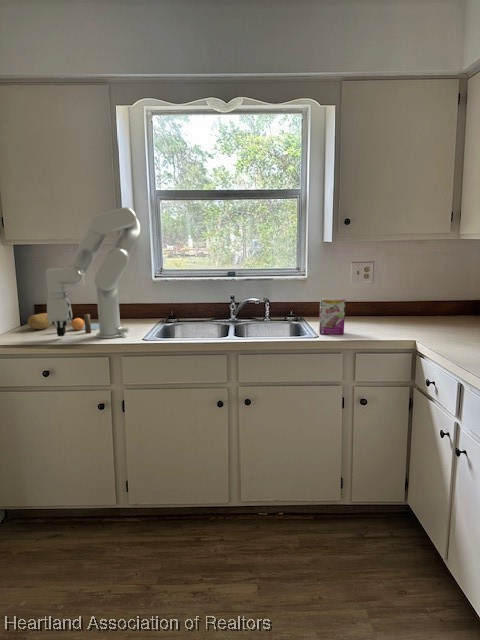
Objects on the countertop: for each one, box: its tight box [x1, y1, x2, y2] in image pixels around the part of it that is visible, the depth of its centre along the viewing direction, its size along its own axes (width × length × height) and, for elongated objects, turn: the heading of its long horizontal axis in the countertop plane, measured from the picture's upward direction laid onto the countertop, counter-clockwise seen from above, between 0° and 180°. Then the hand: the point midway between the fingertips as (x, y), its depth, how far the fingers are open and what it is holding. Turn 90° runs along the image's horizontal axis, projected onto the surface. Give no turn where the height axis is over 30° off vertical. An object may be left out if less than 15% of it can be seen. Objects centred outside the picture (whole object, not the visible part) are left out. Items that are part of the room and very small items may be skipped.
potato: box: [27, 312, 51, 330], centre depth 221 cm, size 10×14×8 cm
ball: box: [71, 317, 85, 331], centre depth 218 cm, size 6×6×6 cm
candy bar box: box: [318, 297, 346, 336], centre depth 202 cm, size 11×5×16 cm, turn 85°
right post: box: [83, 313, 92, 334], centre depth 210 cm, size 3×3×9 cm
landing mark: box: [69, 322, 99, 331], centre depth 226 cm, size 14×14×1 cm
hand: (61, 335), depth 199 cm, fingers closed
